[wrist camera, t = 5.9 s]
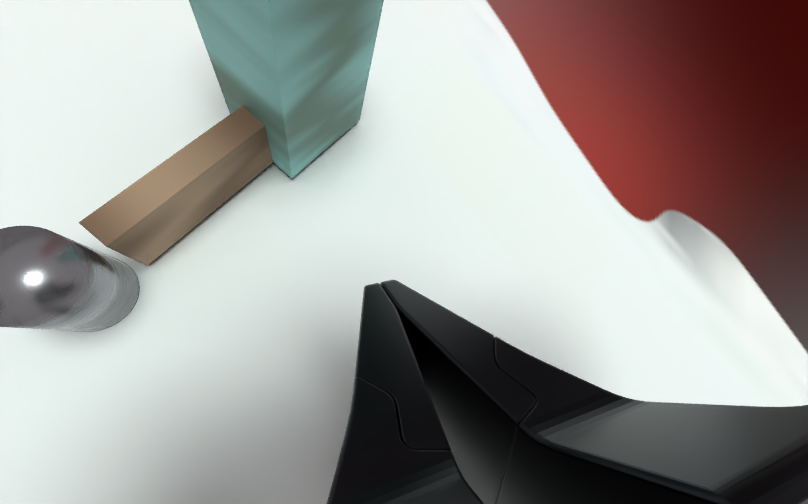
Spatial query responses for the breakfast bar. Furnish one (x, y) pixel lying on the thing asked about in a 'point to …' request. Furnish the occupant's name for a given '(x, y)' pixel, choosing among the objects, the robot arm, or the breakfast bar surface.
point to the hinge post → (60, 283)
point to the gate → (251, 112)
